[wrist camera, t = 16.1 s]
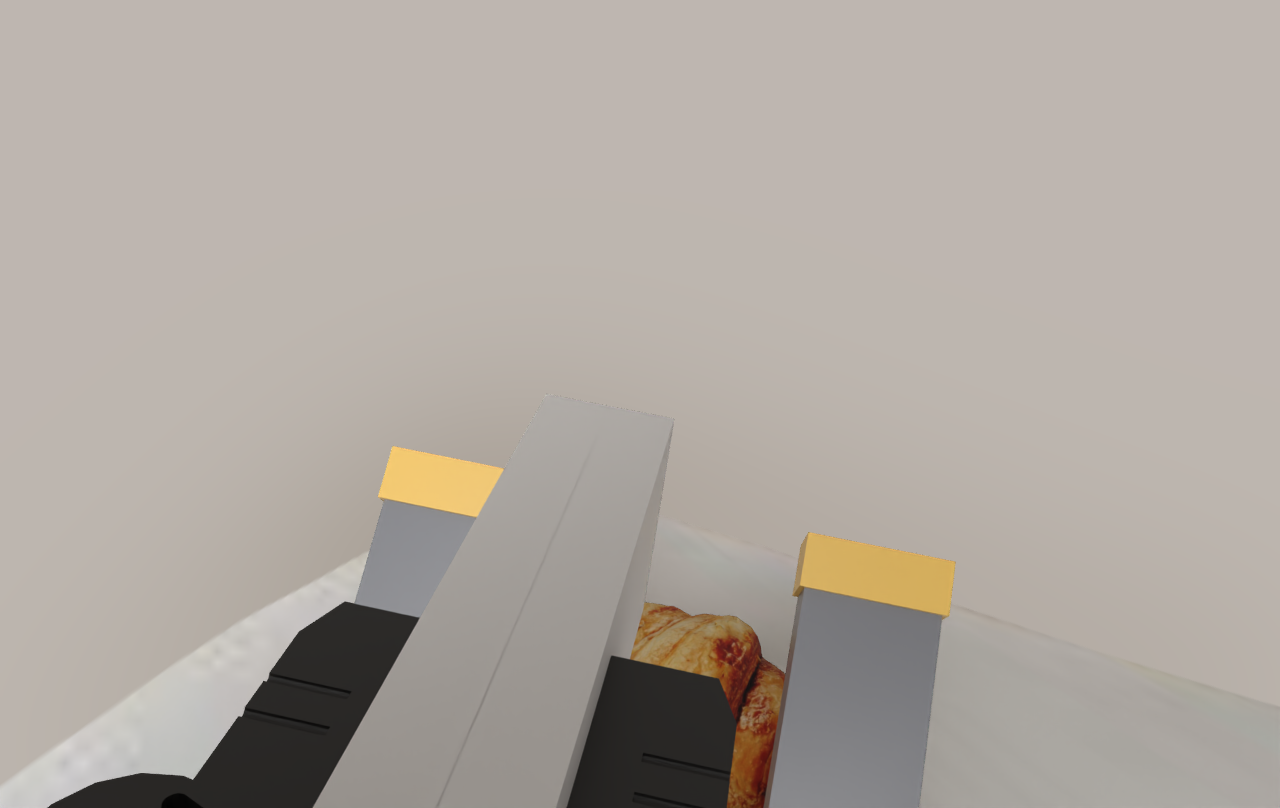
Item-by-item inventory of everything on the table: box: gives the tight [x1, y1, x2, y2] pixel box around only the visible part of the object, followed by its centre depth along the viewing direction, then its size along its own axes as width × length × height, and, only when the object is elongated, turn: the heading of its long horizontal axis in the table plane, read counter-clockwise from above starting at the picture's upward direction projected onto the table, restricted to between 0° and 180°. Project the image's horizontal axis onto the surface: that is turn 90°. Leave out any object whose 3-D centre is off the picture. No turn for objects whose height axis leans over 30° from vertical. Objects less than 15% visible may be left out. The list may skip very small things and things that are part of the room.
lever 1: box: [354, 446, 504, 618], centre depth 39 cm, size 2×6×15 cm
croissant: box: [630, 602, 785, 808], centre depth 50 cm, size 21×10×8 cm, turn 52°
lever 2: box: [764, 532, 955, 808], centre depth 38 cm, size 2×6×15 cm
